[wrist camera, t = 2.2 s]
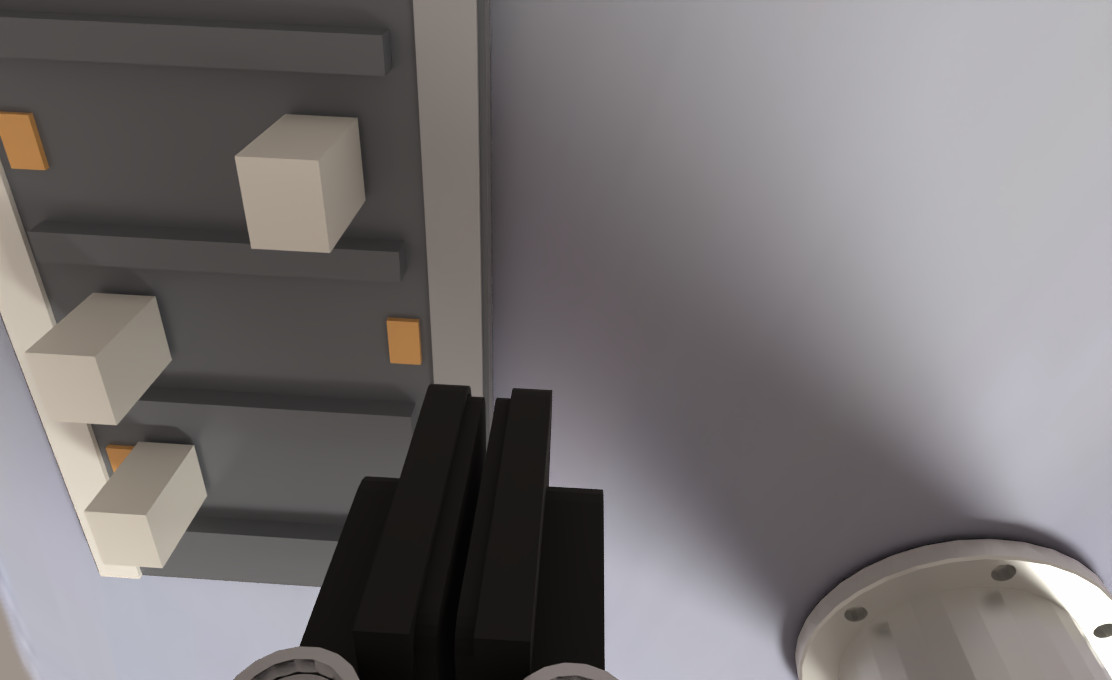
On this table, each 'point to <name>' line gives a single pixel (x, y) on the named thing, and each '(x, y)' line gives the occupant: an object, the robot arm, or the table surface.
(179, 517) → the tab
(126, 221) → the switch board
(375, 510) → the robot arm
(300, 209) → the tab
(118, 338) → the tab
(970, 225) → the table surface
